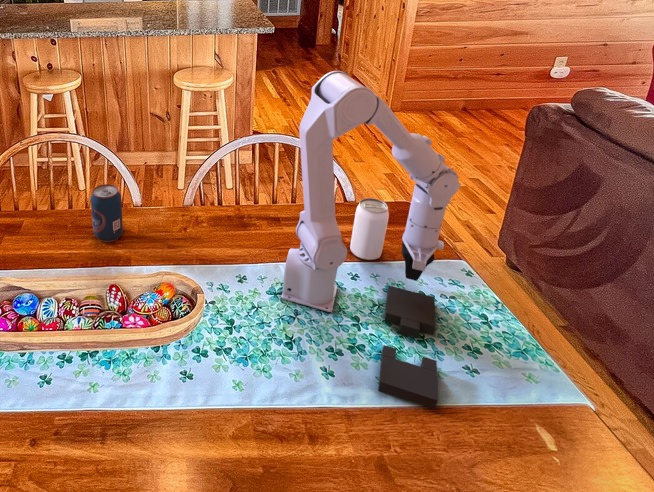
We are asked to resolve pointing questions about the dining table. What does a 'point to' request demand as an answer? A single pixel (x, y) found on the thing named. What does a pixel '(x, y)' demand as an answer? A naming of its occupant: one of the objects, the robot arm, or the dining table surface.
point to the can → (369, 229)
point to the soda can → (106, 212)
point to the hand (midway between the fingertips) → (411, 277)
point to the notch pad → (408, 379)
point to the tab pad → (410, 311)
